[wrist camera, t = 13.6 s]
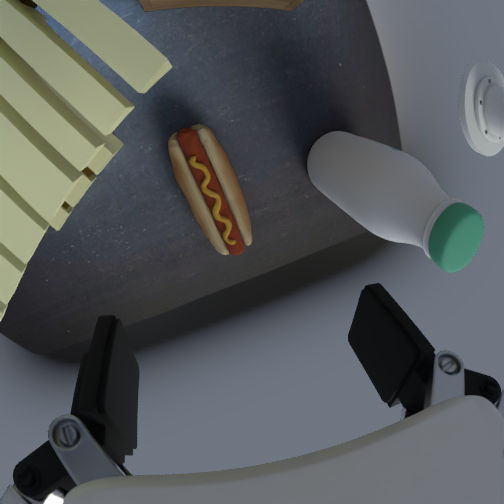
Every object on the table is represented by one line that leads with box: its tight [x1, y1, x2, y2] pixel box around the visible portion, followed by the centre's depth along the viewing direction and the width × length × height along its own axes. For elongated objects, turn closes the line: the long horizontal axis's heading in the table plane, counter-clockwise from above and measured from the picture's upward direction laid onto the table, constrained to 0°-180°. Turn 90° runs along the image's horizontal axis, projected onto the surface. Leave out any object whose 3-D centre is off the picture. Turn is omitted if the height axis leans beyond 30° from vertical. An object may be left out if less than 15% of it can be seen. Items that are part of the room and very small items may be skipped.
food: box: [168, 124, 252, 255], centre depth 28 cm, size 14×6×5 cm, turn 20°
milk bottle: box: [307, 131, 484, 273], centre depth 23 cm, size 8×8×20 cm
